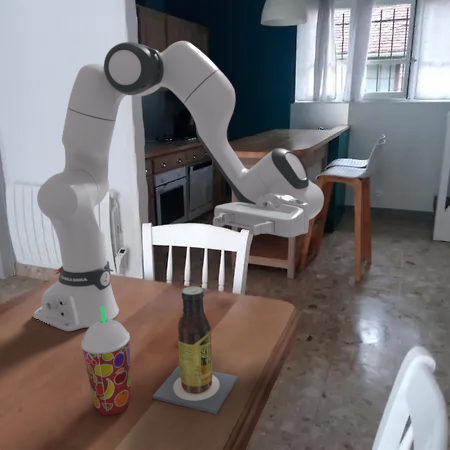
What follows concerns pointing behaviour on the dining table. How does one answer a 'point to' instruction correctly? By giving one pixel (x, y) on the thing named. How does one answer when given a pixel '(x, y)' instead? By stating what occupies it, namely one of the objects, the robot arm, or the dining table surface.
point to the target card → (202, 401)
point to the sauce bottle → (194, 343)
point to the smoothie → (108, 364)
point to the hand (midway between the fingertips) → (233, 226)
